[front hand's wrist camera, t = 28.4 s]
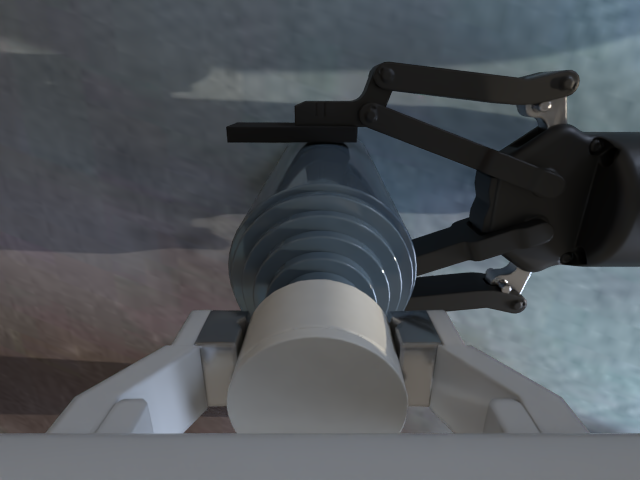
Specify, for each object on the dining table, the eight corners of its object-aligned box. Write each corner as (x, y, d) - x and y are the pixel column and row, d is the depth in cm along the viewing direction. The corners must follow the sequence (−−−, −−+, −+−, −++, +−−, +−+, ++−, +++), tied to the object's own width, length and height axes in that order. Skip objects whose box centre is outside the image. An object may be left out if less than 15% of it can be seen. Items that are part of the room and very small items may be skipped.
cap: (226, 296, 10) (198, 358, 8) (375, 262, 9) (389, 318, 7) (272, 405, 11) (259, 483, 9) (402, 380, 11) (422, 456, 9)
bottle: (344, 106, 26) (382, 190, 7) (388, 190, 28) (506, 421, 9) (261, 156, 27) (112, 335, 8) (309, 232, 29) (275, 504, 11)
